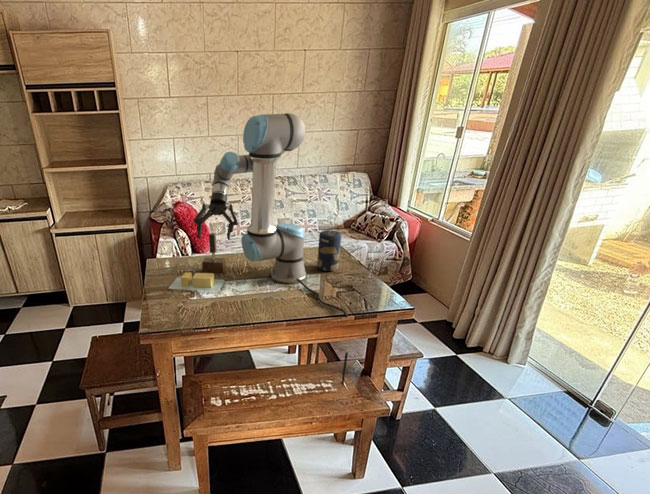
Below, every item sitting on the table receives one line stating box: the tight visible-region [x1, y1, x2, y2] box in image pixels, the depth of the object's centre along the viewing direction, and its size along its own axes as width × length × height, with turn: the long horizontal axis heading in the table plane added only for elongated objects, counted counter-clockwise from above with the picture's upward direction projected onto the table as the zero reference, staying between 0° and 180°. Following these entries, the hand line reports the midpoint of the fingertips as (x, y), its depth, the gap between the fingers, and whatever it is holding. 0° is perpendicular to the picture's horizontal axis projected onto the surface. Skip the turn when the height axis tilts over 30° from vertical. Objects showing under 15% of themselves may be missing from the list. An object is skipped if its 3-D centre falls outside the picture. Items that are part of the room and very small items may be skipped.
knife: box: [208, 232, 218, 262], centre depth 184 cm, size 2×3×17 cm
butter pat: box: [180, 271, 193, 287], centre depth 174 cm, size 3×6×4 cm, turn 168°
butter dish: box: [168, 277, 225, 292], centre depth 175 cm, size 22×12×1 cm, turn 78°
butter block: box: [192, 272, 215, 288], centre depth 173 cm, size 8×6×4 cm
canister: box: [316, 229, 342, 272], centre depth 182 cm, size 10×10×18 cm
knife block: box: [201, 257, 227, 274], centre depth 187 cm, size 10×6×6 cm, turn 78°
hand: (213, 238), depth 182 cm, fingers open, 13 cm apart
